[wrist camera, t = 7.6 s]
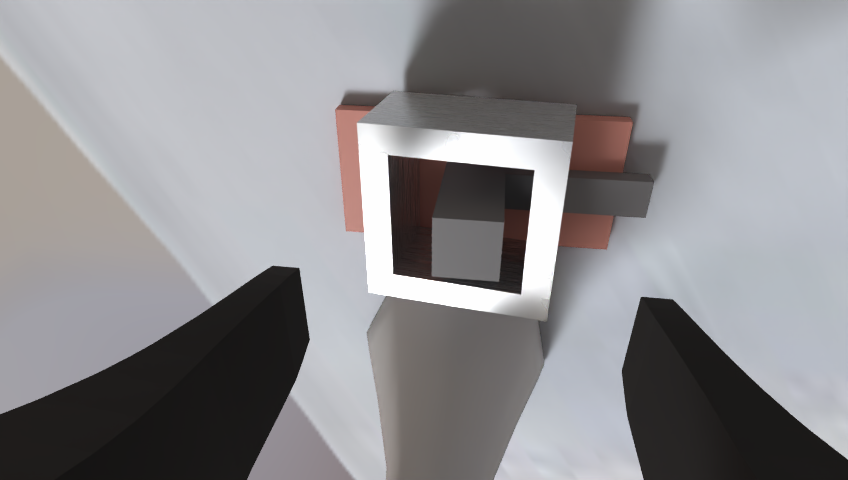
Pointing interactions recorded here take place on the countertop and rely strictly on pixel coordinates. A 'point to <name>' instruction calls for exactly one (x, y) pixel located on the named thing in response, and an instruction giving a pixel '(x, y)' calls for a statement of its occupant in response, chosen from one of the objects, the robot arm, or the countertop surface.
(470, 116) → the link
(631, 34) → the countertop surface
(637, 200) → the keeper hook
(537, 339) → the flask
